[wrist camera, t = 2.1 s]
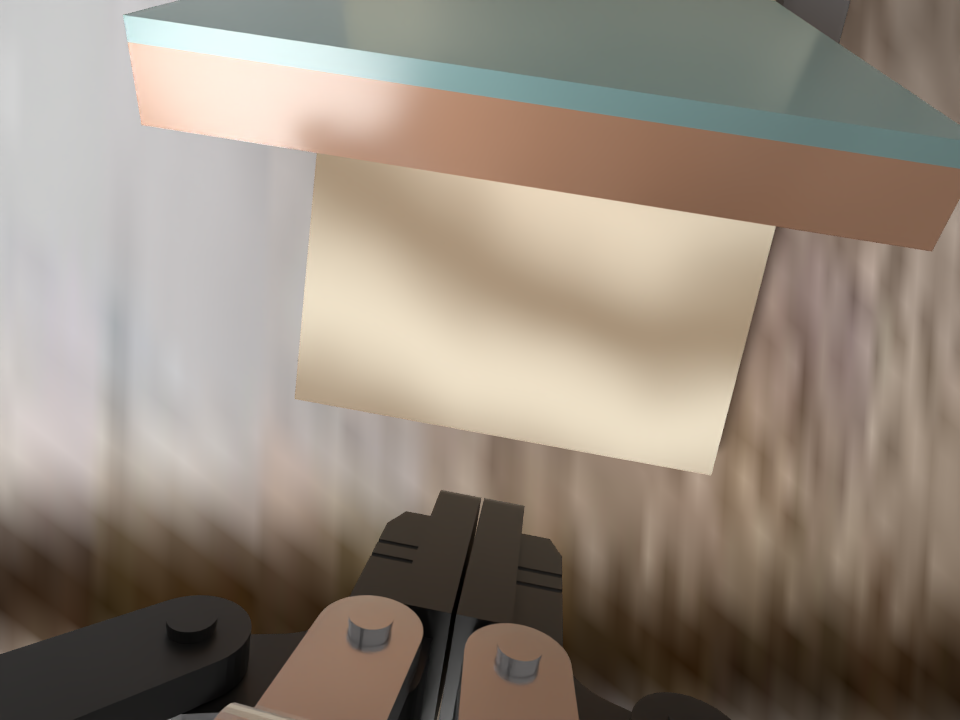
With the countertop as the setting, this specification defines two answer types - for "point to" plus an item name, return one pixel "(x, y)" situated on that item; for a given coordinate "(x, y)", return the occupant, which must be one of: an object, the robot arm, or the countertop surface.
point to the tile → (568, 102)
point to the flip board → (530, 307)
